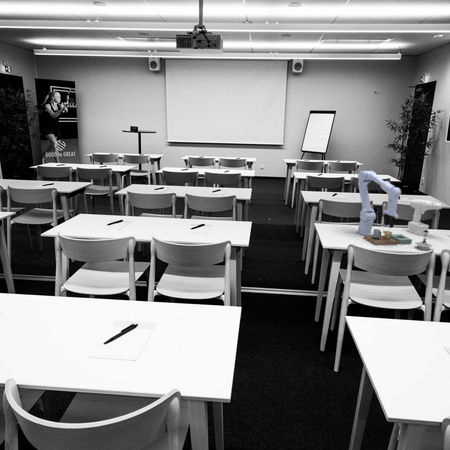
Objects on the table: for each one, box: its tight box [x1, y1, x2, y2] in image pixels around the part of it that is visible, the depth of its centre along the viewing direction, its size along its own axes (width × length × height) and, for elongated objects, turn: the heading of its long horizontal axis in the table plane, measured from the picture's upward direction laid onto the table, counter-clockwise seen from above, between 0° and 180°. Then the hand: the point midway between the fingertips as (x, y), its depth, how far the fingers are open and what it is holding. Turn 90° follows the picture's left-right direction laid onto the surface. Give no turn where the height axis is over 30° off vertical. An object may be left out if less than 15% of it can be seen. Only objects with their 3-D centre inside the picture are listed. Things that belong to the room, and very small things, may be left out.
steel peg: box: [372, 228, 381, 240], centre depth 264 cm, size 4×4×8 cm
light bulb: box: [414, 230, 433, 251], centre depth 254 cm, size 12×10×10 cm
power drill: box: [407, 198, 444, 237], centre depth 284 cm, size 8×24×25 cm, turn 27°
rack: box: [390, 233, 413, 245], centre depth 268 cm, size 12×9×3 cm
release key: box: [382, 230, 393, 239], centre depth 265 cm, size 4×4×4 cm
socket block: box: [363, 234, 398, 246], centre depth 265 cm, size 14×16×2 cm
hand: (388, 226), depth 264 cm, fingers open, 5 cm apart
